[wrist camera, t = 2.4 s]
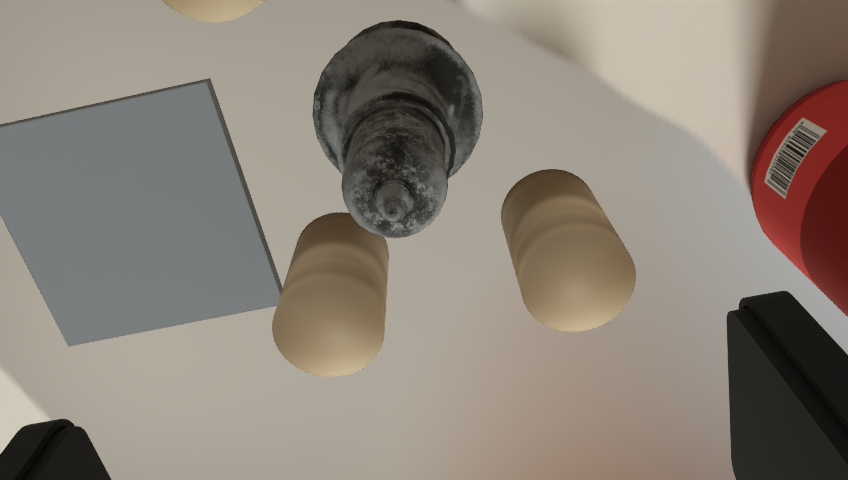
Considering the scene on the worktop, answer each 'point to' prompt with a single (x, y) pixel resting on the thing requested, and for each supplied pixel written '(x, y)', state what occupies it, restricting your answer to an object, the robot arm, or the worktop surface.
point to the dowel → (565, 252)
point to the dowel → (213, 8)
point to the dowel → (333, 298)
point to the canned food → (808, 188)
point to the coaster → (135, 214)
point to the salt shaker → (397, 124)
